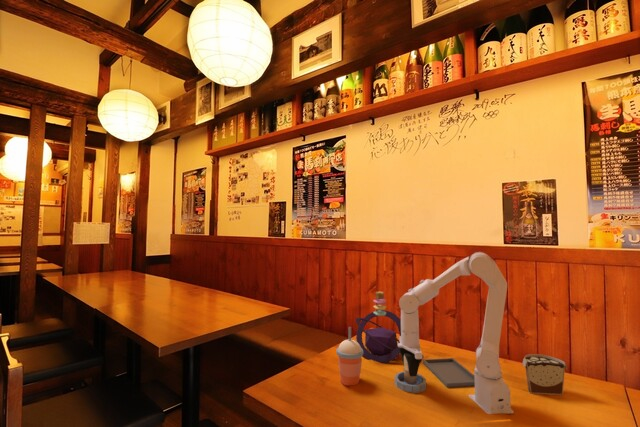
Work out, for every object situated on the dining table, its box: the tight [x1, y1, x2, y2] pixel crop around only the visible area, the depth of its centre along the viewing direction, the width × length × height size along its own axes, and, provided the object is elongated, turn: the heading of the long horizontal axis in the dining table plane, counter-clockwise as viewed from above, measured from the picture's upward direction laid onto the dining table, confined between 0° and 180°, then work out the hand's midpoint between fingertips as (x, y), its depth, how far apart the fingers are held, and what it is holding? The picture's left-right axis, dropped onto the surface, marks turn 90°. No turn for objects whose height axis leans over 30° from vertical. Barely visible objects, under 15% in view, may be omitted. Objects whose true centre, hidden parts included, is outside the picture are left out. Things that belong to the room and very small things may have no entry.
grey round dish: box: [394, 371, 427, 394], centre depth 102 cm, size 10×10×2 cm
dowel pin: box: [403, 355, 417, 384], centre depth 102 cm, size 4×4×8 cm
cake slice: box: [522, 353, 568, 396], centre depth 101 cm, size 12×6×10 cm, turn 84°
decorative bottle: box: [355, 291, 401, 364], centre depth 129 cm, size 22×21×25 cm
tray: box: [422, 357, 475, 389], centre depth 110 cm, size 18×12×2 cm, turn 6°
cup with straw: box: [335, 326, 364, 387], centre depth 106 cm, size 9×9×18 cm
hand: (410, 372), depth 102 cm, fingers closed on dowel pin, 4 cm apart
